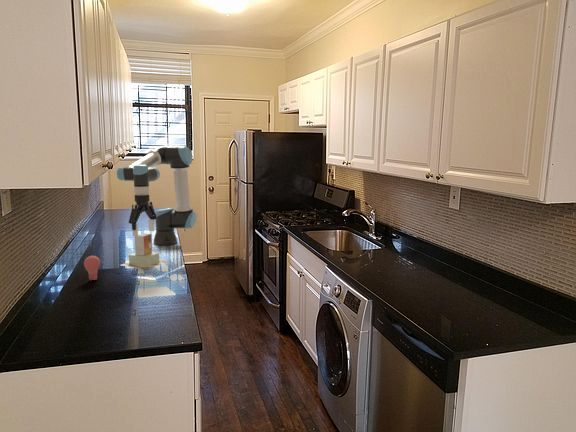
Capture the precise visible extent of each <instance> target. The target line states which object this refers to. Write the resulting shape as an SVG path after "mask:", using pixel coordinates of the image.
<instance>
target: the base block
mask: <svg viewBox="0 0 576 432" xmlns="http://www.w3.org/2000/svg"><path fill="white" fill-rule="evenodd" d="M159 260H160V252H155V251H152V253H149V254H147V255H144V256H143V255H135V252H134V253H130V254H128V262H129V264H133V265H142V266H150V265H152V264H155V263H158V262H159Z"/></svg>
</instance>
